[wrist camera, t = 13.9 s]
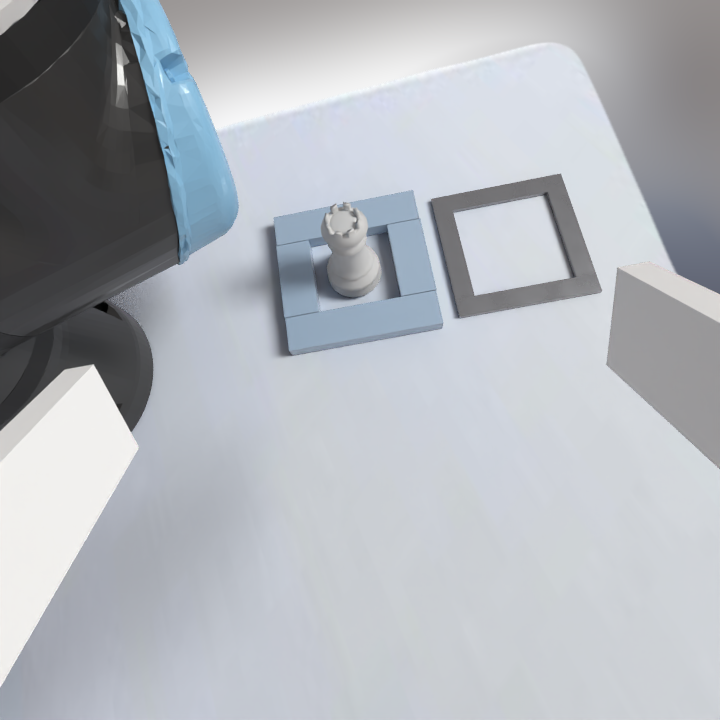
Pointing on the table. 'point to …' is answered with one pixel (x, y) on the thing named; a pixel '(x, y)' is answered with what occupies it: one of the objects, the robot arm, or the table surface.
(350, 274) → the rook chess piece
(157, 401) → the table surface
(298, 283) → the socket
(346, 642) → the table surface
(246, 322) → the table surface
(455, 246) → the bezel
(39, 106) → the robot arm
